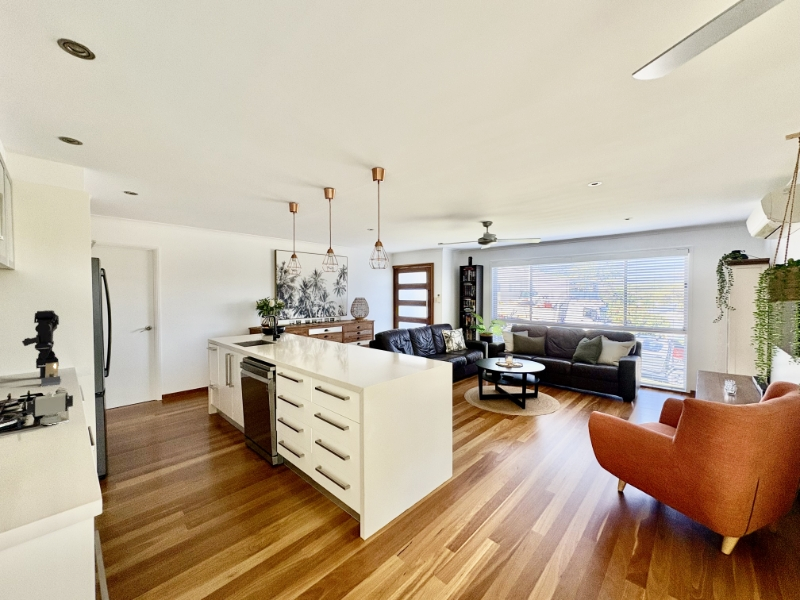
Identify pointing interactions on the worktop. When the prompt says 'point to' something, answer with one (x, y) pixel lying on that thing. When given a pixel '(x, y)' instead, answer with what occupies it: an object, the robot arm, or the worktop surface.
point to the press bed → (50, 381)
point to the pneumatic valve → (50, 407)
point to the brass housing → (51, 369)
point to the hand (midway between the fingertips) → (44, 358)
